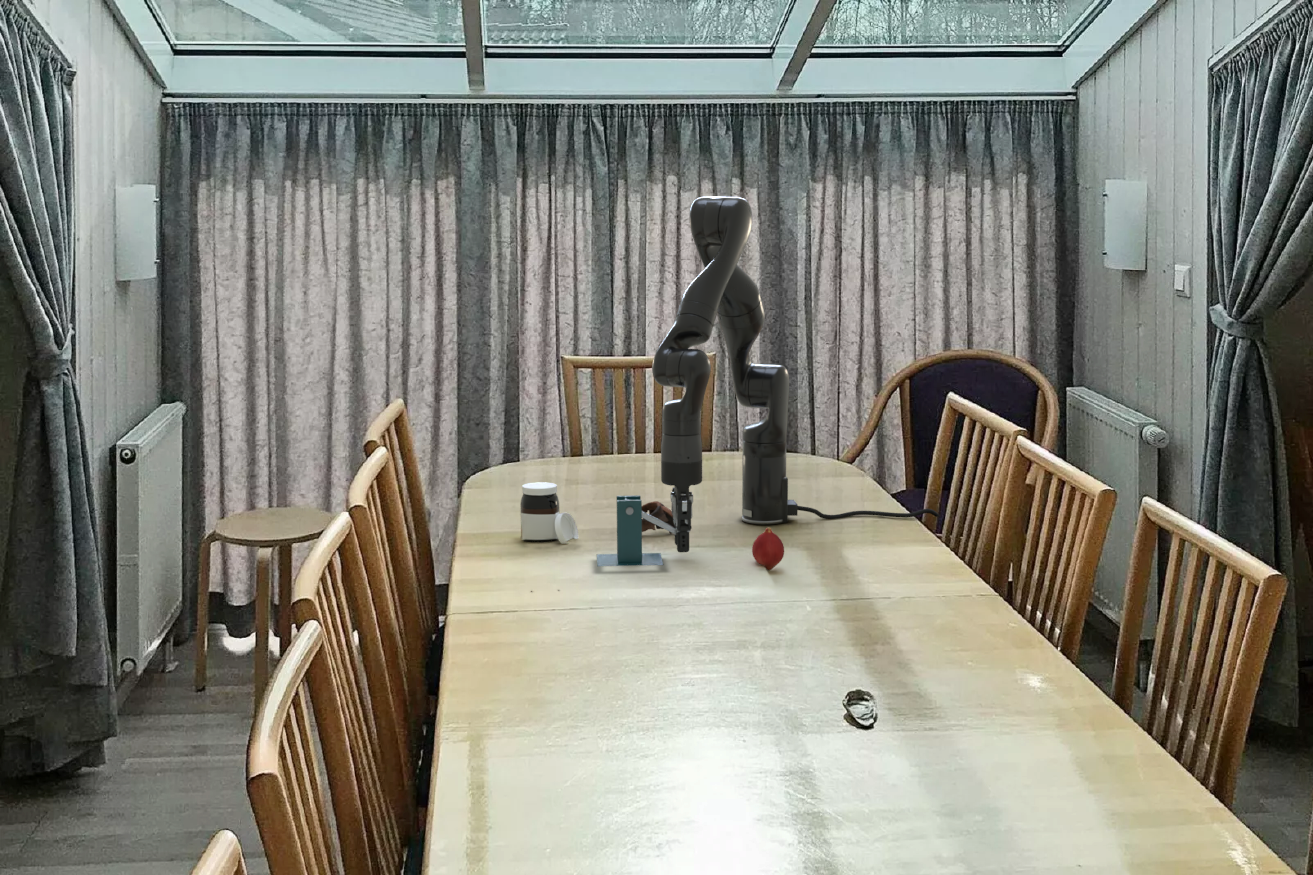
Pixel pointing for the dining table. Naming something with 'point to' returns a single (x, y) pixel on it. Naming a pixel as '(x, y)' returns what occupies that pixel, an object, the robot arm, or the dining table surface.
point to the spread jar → (544, 515)
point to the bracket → (629, 537)
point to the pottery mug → (657, 515)
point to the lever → (658, 522)
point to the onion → (768, 549)
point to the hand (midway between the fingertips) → (681, 547)
